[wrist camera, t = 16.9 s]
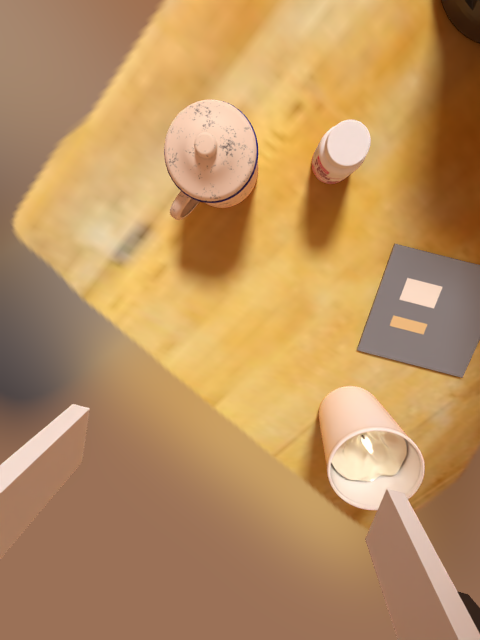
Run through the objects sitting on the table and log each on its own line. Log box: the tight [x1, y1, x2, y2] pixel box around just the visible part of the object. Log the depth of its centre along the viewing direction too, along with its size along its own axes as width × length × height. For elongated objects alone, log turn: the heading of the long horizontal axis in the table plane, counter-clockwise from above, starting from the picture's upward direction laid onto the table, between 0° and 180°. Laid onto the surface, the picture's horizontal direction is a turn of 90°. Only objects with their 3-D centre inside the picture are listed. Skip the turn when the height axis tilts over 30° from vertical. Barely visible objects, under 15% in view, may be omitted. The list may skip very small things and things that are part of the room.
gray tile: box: [357, 244, 480, 378], centre depth 42 cm, size 14×14×1 cm
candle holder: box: [319, 386, 425, 510], centre depth 40 cm, size 10×10×12 cm
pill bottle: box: [312, 120, 371, 184], centre depth 35 cm, size 5×5×8 cm
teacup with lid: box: [164, 100, 258, 220], centre depth 35 cm, size 12×9×12 cm
